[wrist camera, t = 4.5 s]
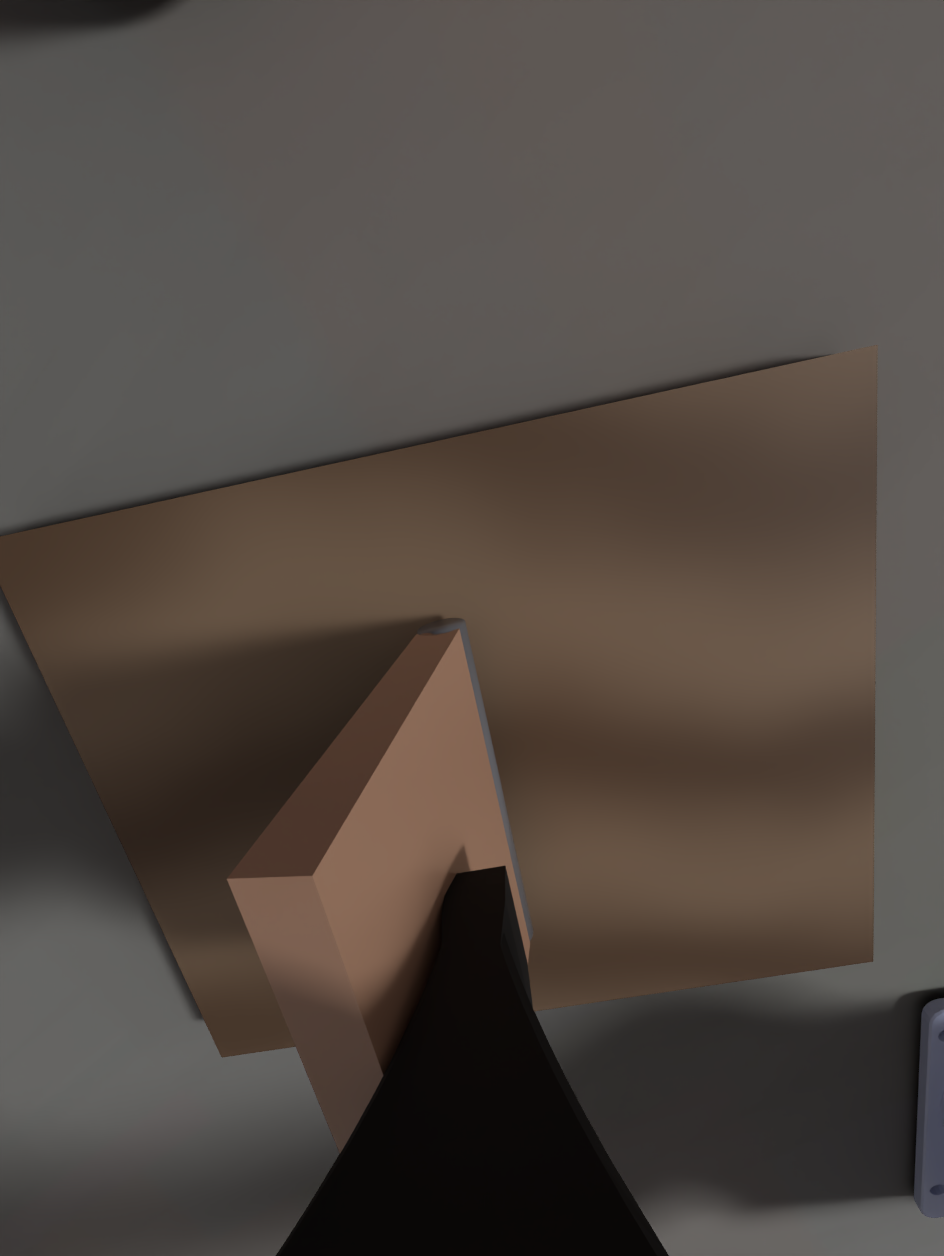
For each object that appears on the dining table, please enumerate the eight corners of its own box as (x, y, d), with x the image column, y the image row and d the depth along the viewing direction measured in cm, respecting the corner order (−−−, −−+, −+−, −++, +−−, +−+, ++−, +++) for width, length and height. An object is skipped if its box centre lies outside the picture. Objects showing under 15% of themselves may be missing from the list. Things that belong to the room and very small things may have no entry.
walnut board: (845, 925, 16) (873, 960, 15) (238, 1017, 18) (221, 1057, 16) (839, 353, 12) (877, 344, 11) (22, 531, 13) (-21, 541, 12)
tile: (488, 1362, 8) (411, 1349, 8) (534, 916, 14) (492, 916, 15) (317, 875, 5) (213, 878, 6) (469, 615, 12) (419, 622, 12)
